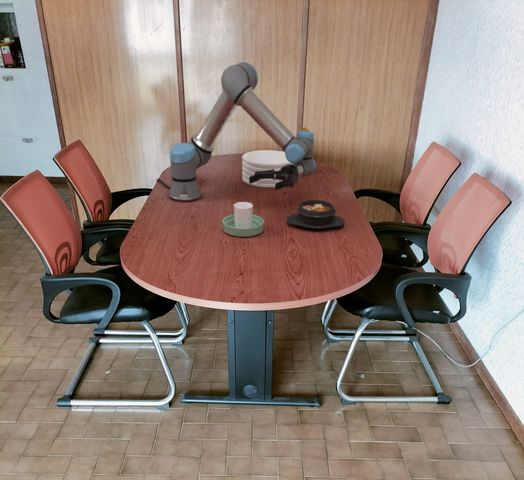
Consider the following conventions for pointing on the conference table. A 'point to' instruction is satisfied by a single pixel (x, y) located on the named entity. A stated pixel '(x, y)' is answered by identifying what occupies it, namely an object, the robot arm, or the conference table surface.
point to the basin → (243, 232)
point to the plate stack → (262, 165)
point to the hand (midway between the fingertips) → (262, 183)
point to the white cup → (243, 214)
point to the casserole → (315, 215)
